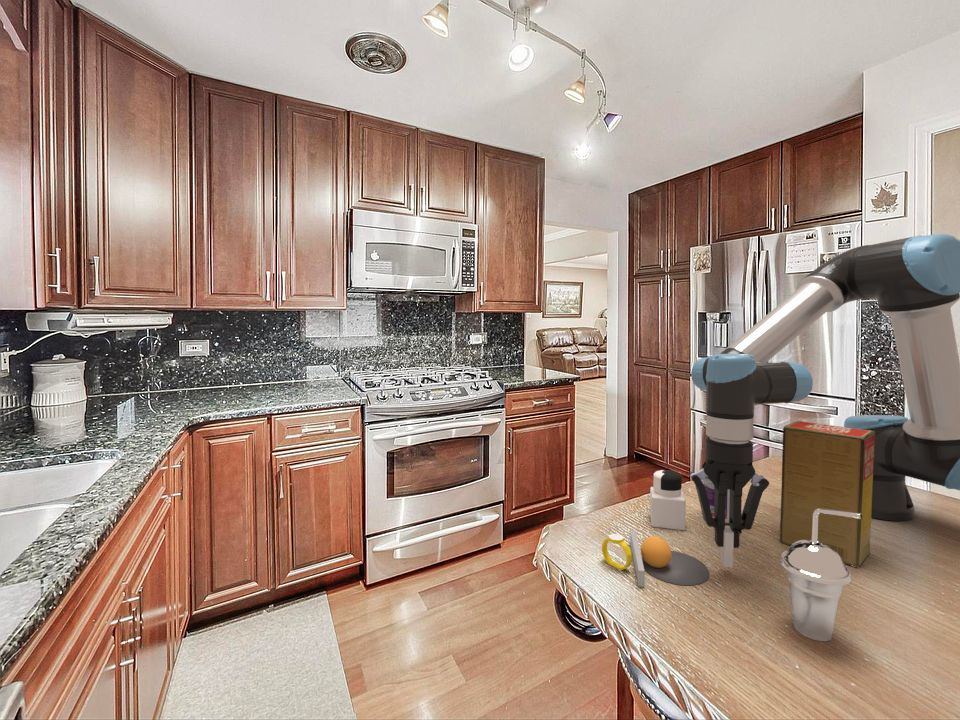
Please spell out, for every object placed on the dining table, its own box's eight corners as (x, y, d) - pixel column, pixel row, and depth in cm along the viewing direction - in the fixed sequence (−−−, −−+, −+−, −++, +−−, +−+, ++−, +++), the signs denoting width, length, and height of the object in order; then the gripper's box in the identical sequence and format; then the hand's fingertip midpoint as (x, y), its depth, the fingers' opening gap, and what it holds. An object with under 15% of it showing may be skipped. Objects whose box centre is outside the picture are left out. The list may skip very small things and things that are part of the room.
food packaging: (871, 552, 87) (877, 429, 85) (859, 569, 81) (865, 438, 79) (793, 529, 97) (796, 419, 95) (777, 542, 92) (780, 426, 90)
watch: (600, 564, 85) (598, 534, 85) (608, 559, 87) (606, 529, 87) (626, 575, 81) (624, 543, 80) (635, 569, 82) (633, 538, 82)
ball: (652, 563, 86) (675, 548, 85) (656, 579, 81) (680, 563, 80) (633, 541, 87) (656, 526, 86) (636, 555, 82) (660, 539, 80)
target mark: (700, 554, 87) (700, 553, 87) (717, 589, 76) (717, 588, 76) (637, 548, 90) (637, 547, 90) (644, 581, 79) (644, 580, 79)
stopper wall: (635, 543, 92) (635, 529, 92) (644, 587, 77) (644, 571, 77) (630, 543, 93) (630, 529, 92) (638, 586, 77) (638, 570, 77)
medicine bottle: (681, 517, 104) (682, 469, 103) (685, 531, 97) (686, 479, 96) (650, 514, 106) (650, 466, 106) (651, 527, 100) (651, 476, 99)
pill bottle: (731, 511, 107) (732, 454, 106) (748, 525, 99) (749, 464, 98) (697, 510, 108) (698, 453, 107) (711, 525, 100) (712, 464, 99)
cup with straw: (812, 609, 70) (817, 489, 68) (869, 650, 61) (875, 513, 59) (764, 615, 69) (768, 492, 67) (815, 657, 60) (820, 518, 58)
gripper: (761, 434, 81) (757, 556, 83) (685, 432, 84) (684, 549, 86) (778, 445, 74) (774, 578, 76) (694, 442, 77) (692, 569, 79)
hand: (726, 562), depth 81 cm, fingers closed
